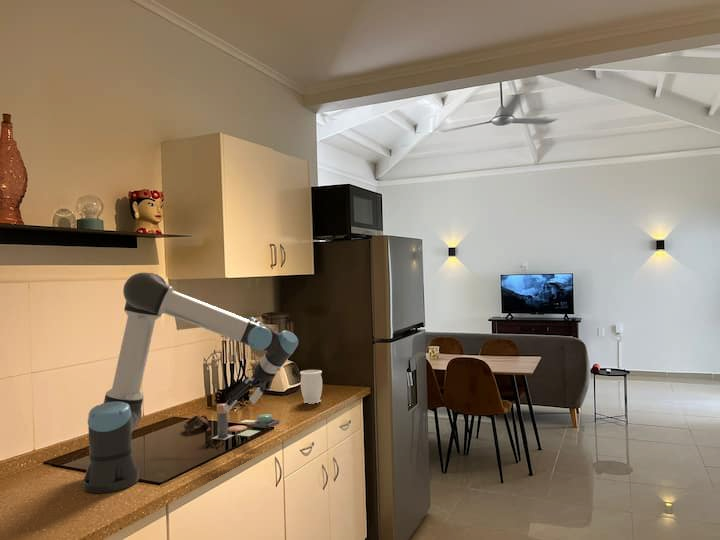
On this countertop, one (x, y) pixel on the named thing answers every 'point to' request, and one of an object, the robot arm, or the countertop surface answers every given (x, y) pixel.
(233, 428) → the colouring board
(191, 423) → the dark brown rock
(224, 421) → the marker
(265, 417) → the button
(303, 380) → the jar
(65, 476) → the countertop surface
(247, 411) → the countertop surface
